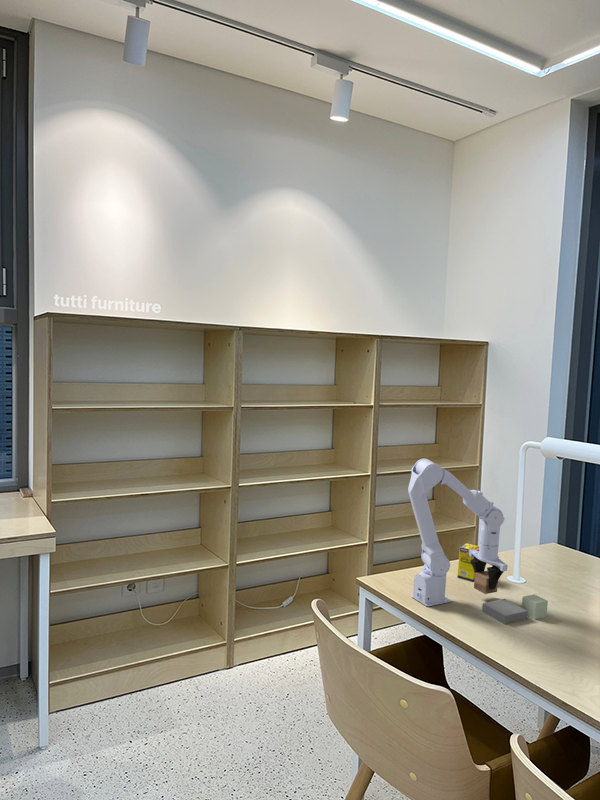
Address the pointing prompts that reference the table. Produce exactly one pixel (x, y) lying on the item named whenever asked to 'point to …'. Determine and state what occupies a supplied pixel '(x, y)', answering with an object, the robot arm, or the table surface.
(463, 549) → the supplement box
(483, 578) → the walnut cube
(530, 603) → the sage green cube
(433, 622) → the table surface
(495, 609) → the charcoal base block
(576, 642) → the table surface
